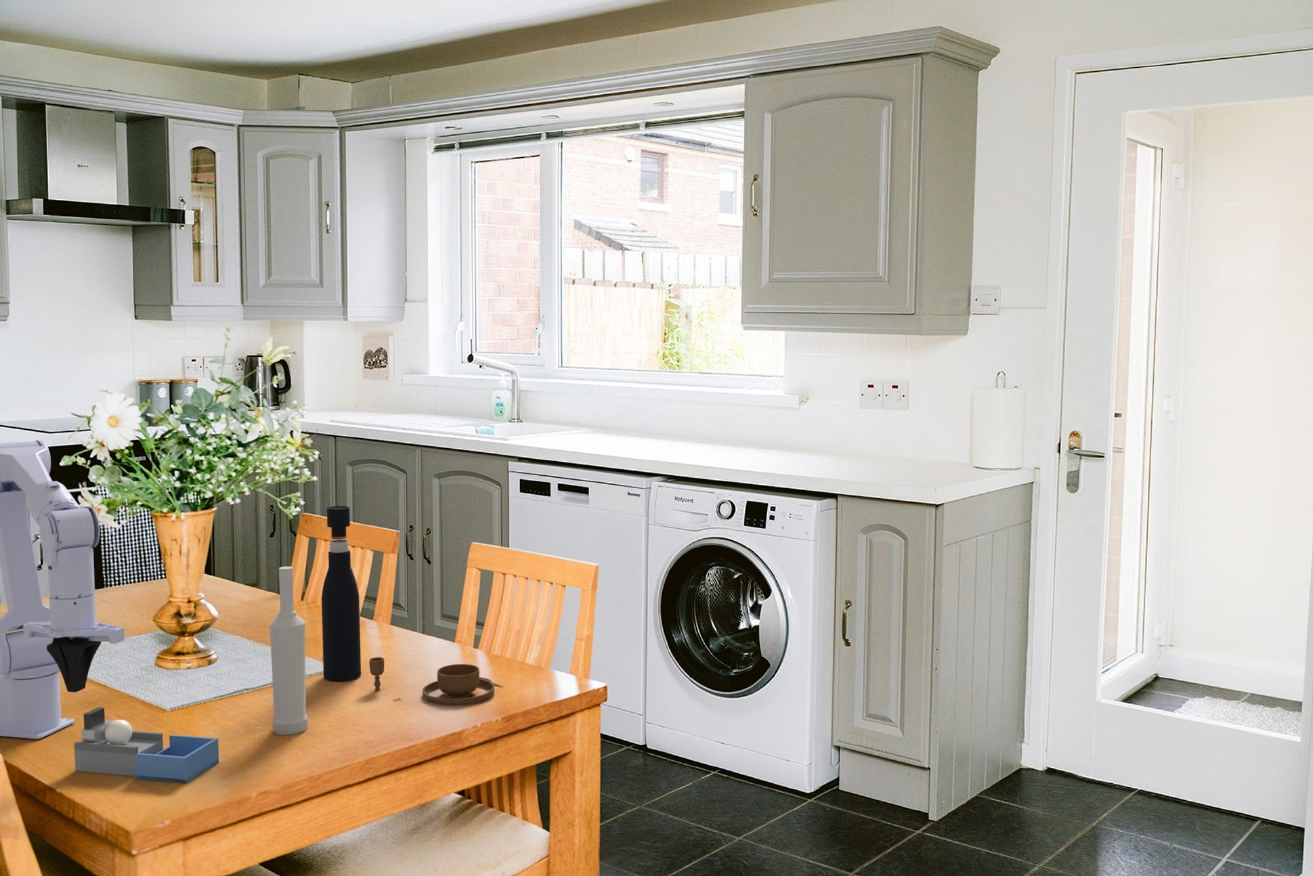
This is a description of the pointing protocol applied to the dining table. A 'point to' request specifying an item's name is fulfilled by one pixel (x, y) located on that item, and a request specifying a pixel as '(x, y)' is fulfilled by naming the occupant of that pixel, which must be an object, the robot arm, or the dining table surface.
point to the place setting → (447, 683)
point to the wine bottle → (340, 605)
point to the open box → (178, 760)
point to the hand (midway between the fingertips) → (76, 690)
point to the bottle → (288, 662)
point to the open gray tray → (116, 753)
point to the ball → (118, 732)
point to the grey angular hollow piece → (95, 726)
